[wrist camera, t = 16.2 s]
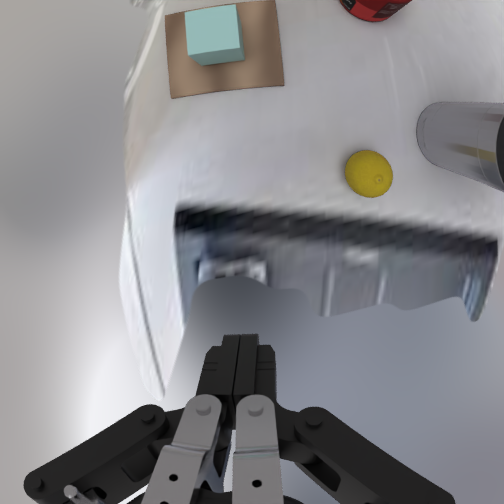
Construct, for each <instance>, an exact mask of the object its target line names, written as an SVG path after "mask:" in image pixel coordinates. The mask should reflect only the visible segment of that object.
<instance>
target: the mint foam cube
mask: <svg viewBox="0 0 504 504" xmlns="http://www.w3.org/2000/svg"><path fill="white" fill-rule="evenodd" d="M185 24H186V38H187V51H188V56H189V57H191V58H192V59H193V60H195V61H196V62H197V63H198V64H200V65H201V66H204V65H211V64H218V63H225V62H234V61H243V60H245V55H244V45H243V35H242V26H241V20H240V17H239V14H238V11H237V7H236V4H233V5H225V6H218V7H211V8H205V9H199V10H194V11H189V12H185Z"/></svg>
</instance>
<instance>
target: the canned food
mask: <svg viewBox="0 0 504 504" xmlns="http://www.w3.org/2000/svg"><path fill="white" fill-rule="evenodd" d="M411 1H412V0H340V2H341V3H342V5H343V6H344V7H345V9H346V10H347V11H349V12H350V13H351V14H353V15H354V16H356V17H358V18H360V19H363V20H366V21H383V20H385V19H388V18H389V17H390V16H392V15H393V14H394V13H396V12H397V11H398V10H400V9H401V8H402V7H404V6H405V5H406V4H408V3H409V2H411Z"/></svg>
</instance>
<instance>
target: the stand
mask: <svg viewBox="0 0 504 504" xmlns="http://www.w3.org/2000/svg"><path fill="white" fill-rule="evenodd" d="M233 4H236V7H237V11H238V14H239V17H240V20H241V26H242V35H243V45H244V55H245V60H243V61H234V62H225V63H218V64H211V65H204V66H201V65H200V64H198V63H197V62H196V61H195V60H193V59H192V58H191V57H189V56H188V51H187V38H186V24H185V12H189V11H194V10H199V9H205V8H211V7H218V6H225V5H233ZM233 4H225V5H218V6H211V7H205V8H199V9H194V10H189V11H184V12H179V13H174V14H170V15H166V16H165V31H166V46H167V59H168V72H169V83H170V94H171V98H172V99H174V98H179V97H185V96H191V95H197V94H204V93H211V92H219V91H227V90H236V89H246V88H257V87H271V86H284V76H283V66H282V57H281V47H280V38H279V30H278V21H277V13H276V5H275V0H267V1H253V2H242V3H233Z"/></svg>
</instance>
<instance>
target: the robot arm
mask: <svg viewBox="0 0 504 504" xmlns="http://www.w3.org/2000/svg"><path fill="white" fill-rule="evenodd" d="M417 140H418V143H419V147H420V149H421V151H422V153H423V154H424V156H425V157H426V158H427V159H428V160H429V161H430V162H431V163H433V164H435V165H436V166H439V167H442V168H445V169H448V170H450V171H453V172H455V173H458V174H461V175H463V176H466V177H468V178H471V179H474V180H476V181H479V182H481V183H483V184H486V185H488V186H491V187H493V188H495V189H498V190H500V191H502V192H504V103H484V102H445V103H434V104H432V105H430V106H428V107H427V108H426V109H425V110H424V111H423V112H422V114H421V116H420V118H419V121H418V125H417ZM232 430H236V450H235V452H234V454H233V486H232V487H233V488H232V491H230V492H224V486H223V482H224V477H225V472H226V467H227V463H228V459H229V454H230V450H231V435H232ZM280 458H281V459H284V460H289V461H293V462H295V464H296V465H297V466H298V467H299V468H300V469H301V470H302V471H303V472H304V473H305V474H306V475H308V476H309V477H310V478H311V479H312V480H313V481H315V482H316V483H317V484H318V485H319V486H320V487H321V488H322V489H324V490H325V491H326V492H327V493H328V494H330V495H331V496H332V497H333V498H334V499H335V500H337V501H338V502H339V503H340V504H455V500H454V498H453V497H452V495H451V494H450V493H448V492H447V491H445V490H443V489H442V488H440V487H438V486H437V485H435V484H434V483H432V482H430V481H429V480H427V479H426V478H424V477H422V476H421V475H419V474H418V473H416V472H414V471H413V470H411V469H410V468H408V467H407V466H405V465H404V464H402V463H401V462H399V461H398V460H396V459H395V458H393V457H392V456H390V455H389V454H387V453H386V452H384V451H383V450H381V449H380V448H379V447H377V446H376V445H374V444H373V443H371V442H370V441H368V440H367V439H366V438H364V437H363V436H361V435H360V434H359V433H357V432H356V431H354V430H353V429H352V428H350V427H349V426H348V425H346V424H345V423H343V422H342V421H341V420H339V419H338V418H337V417H335V416H334V415H333V414H331V413H330V412H329V411H327V410H326V409H324V408H320V407H308V408H305V409H303V410H301V411H300V412H295V411H290V410H287V409H285V408H283V407H281V406H280V405H279V404H278V403H277V401H276V361H275V352H274V350H273V349H272V347H271V345H259V336H258V334H242V335H240V334H238V335H224V337H223V341H222V346H212V348H211V349H210V350H209V351H208V352H207V353H206V356H205V360H204V365H203V368H202V373H201V376H200V380H199V384H198V388H197V392H196V396H195V397H193V398H192V399H190V400H189V401H188V403H187V404H186V406H185V407H184V408H182V409H178V410H173V411H168V412H164V410H163V409H162V408H161V407H159V406H157V405H152V404H151V405H150V404H149V405H144V406H141V407H139V408H138V409H136V410H135V411H133V412H132V413H130V414H128V415H127V416H126V417H124V418H122V419H120V420H119V421H117V422H116V423H114V424H113V425H111V426H110V427H108V428H106V429H104V430H103V431H101V432H100V433H98V434H96V435H95V436H93V437H91V438H90V439H88V440H86V441H85V442H83V443H81V444H80V445H78V446H76V447H75V448H73V449H71V450H69V451H68V452H66V453H64V454H62V455H61V456H59V457H57V458H55V459H54V460H52V461H50V462H48V463H46V464H45V465H43V466H41V467H39V468H37V469H35V470H34V471H32V472H30V473H29V474H28V475H27V476H26V478H25V480H24V490H25V492H26V494H27V495H28V496H29V497H30V498H32V499H33V500H34V501H36V502H37V503H39V504H118V503H120V502H121V501H123V500H124V499H126V498H127V497H129V496H131V495H132V494H134V493H135V492H137V491H138V490H139V489H141V488H143V487H144V486H146V485H147V484H148V483H149V484H148V487H147V489H146V492H144V493H142V494H140V495H139V496H137V497H136V498H134V499H133V500H131V501H130V502H129V503H127V504H303V503H302V502H300V501H298V500H296V499H293V498H291V497H288V496H284V495H283V491H282V481H281V470H280Z"/></svg>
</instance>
